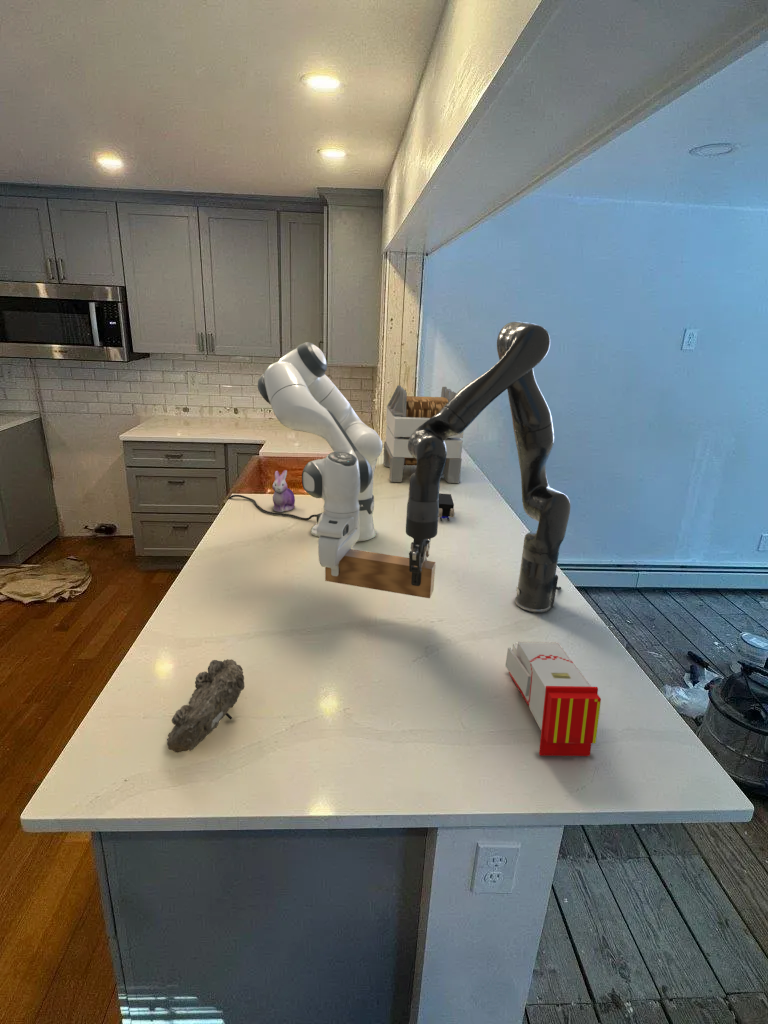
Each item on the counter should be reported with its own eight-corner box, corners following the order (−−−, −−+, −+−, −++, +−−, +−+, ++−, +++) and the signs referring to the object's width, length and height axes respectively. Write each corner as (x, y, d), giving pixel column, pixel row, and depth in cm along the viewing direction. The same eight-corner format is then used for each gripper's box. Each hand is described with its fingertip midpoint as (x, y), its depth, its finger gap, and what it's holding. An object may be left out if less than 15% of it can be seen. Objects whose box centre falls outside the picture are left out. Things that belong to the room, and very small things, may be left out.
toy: (554, 624, 127) (610, 694, 97) (548, 679, 130) (602, 763, 100) (500, 623, 126) (541, 693, 97) (496, 678, 129) (534, 763, 100)
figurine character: (454, 527, 212) (449, 509, 225) (456, 508, 209) (451, 492, 222) (436, 526, 212) (433, 508, 225) (438, 508, 208) (434, 491, 222)
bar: (325, 581, 144) (325, 552, 142) (331, 573, 148) (331, 546, 146) (429, 598, 138) (432, 569, 135) (433, 590, 142) (435, 561, 139)
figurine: (275, 514, 213) (275, 475, 208) (268, 505, 221) (266, 468, 216) (299, 511, 217) (299, 473, 212) (291, 502, 225) (290, 466, 220)
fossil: (192, 660, 117) (244, 628, 112) (224, 691, 120) (276, 661, 115) (142, 746, 98) (202, 712, 93) (182, 779, 101) (242, 748, 96)
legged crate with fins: (382, 463, 289) (386, 382, 275) (445, 464, 293) (451, 384, 279) (390, 482, 257) (394, 392, 243) (460, 483, 261) (468, 394, 247)
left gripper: (343, 504, 150) (342, 551, 155) (313, 530, 131) (313, 584, 136) (366, 507, 149) (364, 555, 153) (339, 534, 130) (338, 588, 135)
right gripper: (432, 528, 126) (427, 596, 132) (443, 508, 139) (438, 571, 145) (399, 523, 128) (396, 591, 134) (413, 504, 141) (410, 566, 147)
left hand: (340, 569), depth 145 cm, fingers open, 5 cm apart
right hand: (418, 580), depth 139 cm, fingers closed on bar, 4 cm apart
